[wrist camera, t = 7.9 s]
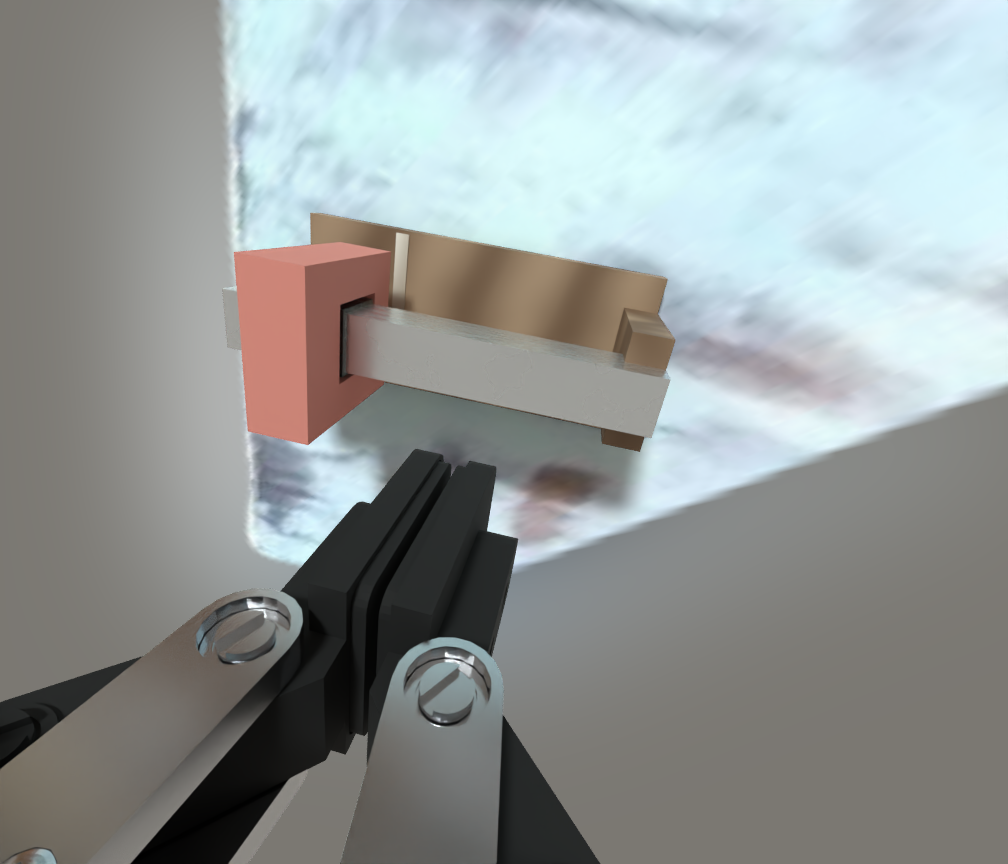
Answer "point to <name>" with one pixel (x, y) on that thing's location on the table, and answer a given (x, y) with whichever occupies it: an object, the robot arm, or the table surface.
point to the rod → (491, 366)
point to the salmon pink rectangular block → (302, 333)
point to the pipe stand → (518, 294)
